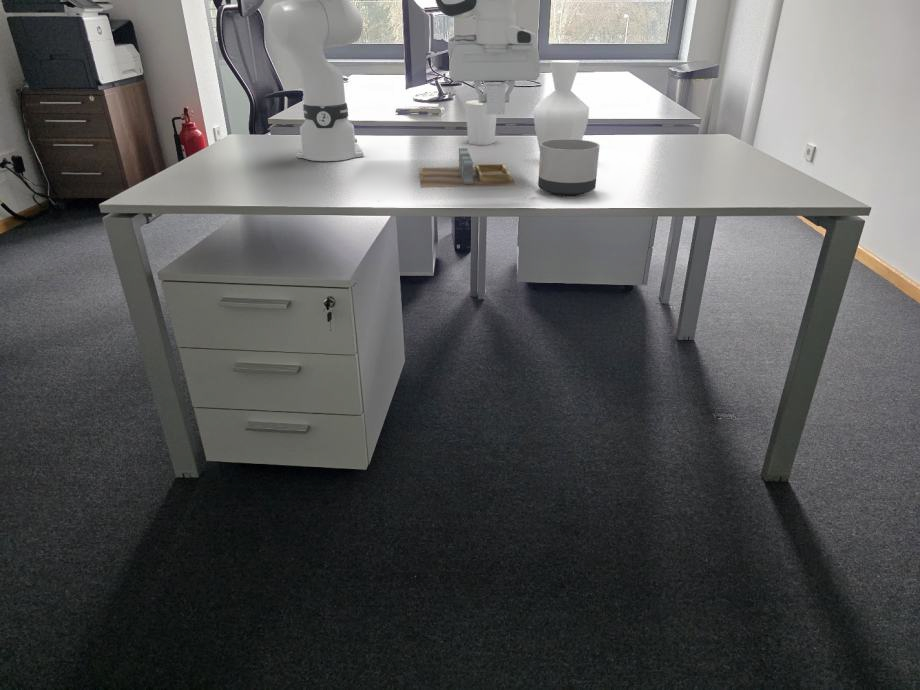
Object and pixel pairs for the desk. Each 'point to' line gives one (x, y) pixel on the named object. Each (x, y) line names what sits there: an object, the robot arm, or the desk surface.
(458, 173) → the board
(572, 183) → the planter
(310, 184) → the desk surface
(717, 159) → the desk surface
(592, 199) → the desk surface
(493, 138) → the candle holder
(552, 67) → the vase
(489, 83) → the bar
